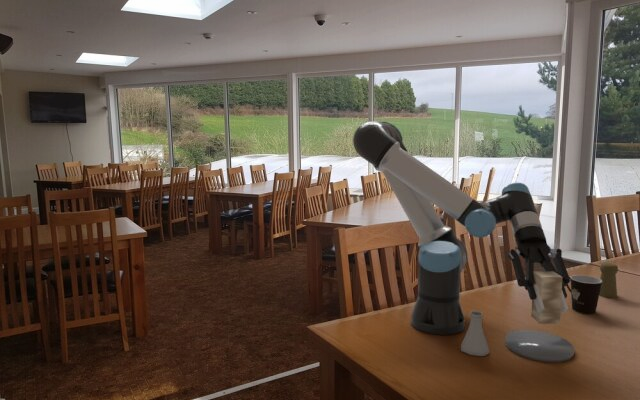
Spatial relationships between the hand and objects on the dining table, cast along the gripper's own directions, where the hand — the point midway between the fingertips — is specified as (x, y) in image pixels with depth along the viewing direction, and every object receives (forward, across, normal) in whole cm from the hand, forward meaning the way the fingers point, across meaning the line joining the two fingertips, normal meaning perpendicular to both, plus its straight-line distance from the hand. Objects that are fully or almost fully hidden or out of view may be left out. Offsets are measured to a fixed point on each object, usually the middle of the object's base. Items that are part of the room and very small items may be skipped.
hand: (552, 310), depth 114 cm
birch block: (0, 0, -5) cm, 5 cm away
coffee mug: (-14, -24, -31) cm, 42 cm away
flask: (+7, +18, -10) cm, 22 cm away
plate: (+5, +1, -11) cm, 12 cm away
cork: (-23, -39, -40) cm, 61 cm away
